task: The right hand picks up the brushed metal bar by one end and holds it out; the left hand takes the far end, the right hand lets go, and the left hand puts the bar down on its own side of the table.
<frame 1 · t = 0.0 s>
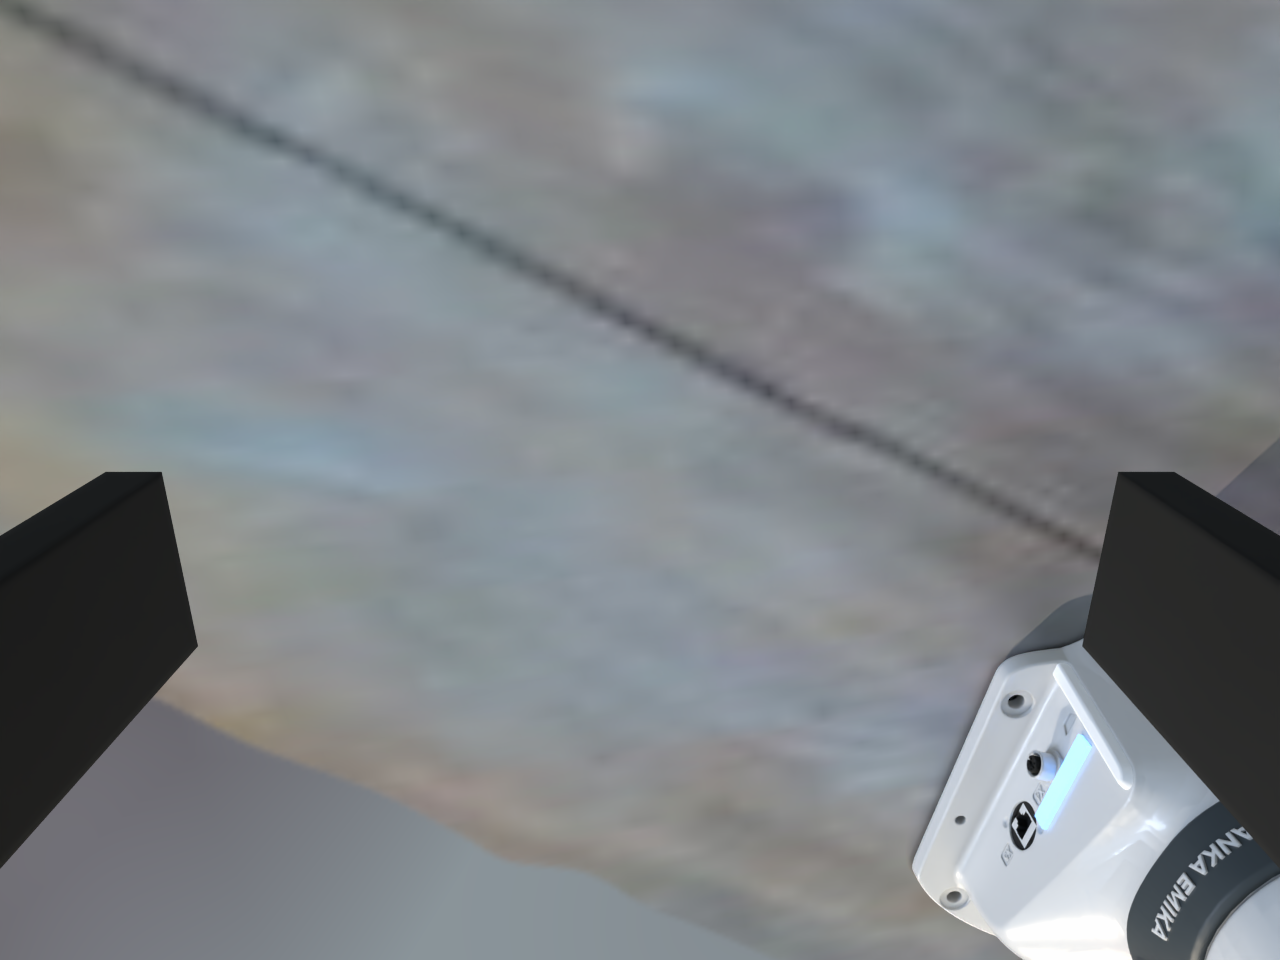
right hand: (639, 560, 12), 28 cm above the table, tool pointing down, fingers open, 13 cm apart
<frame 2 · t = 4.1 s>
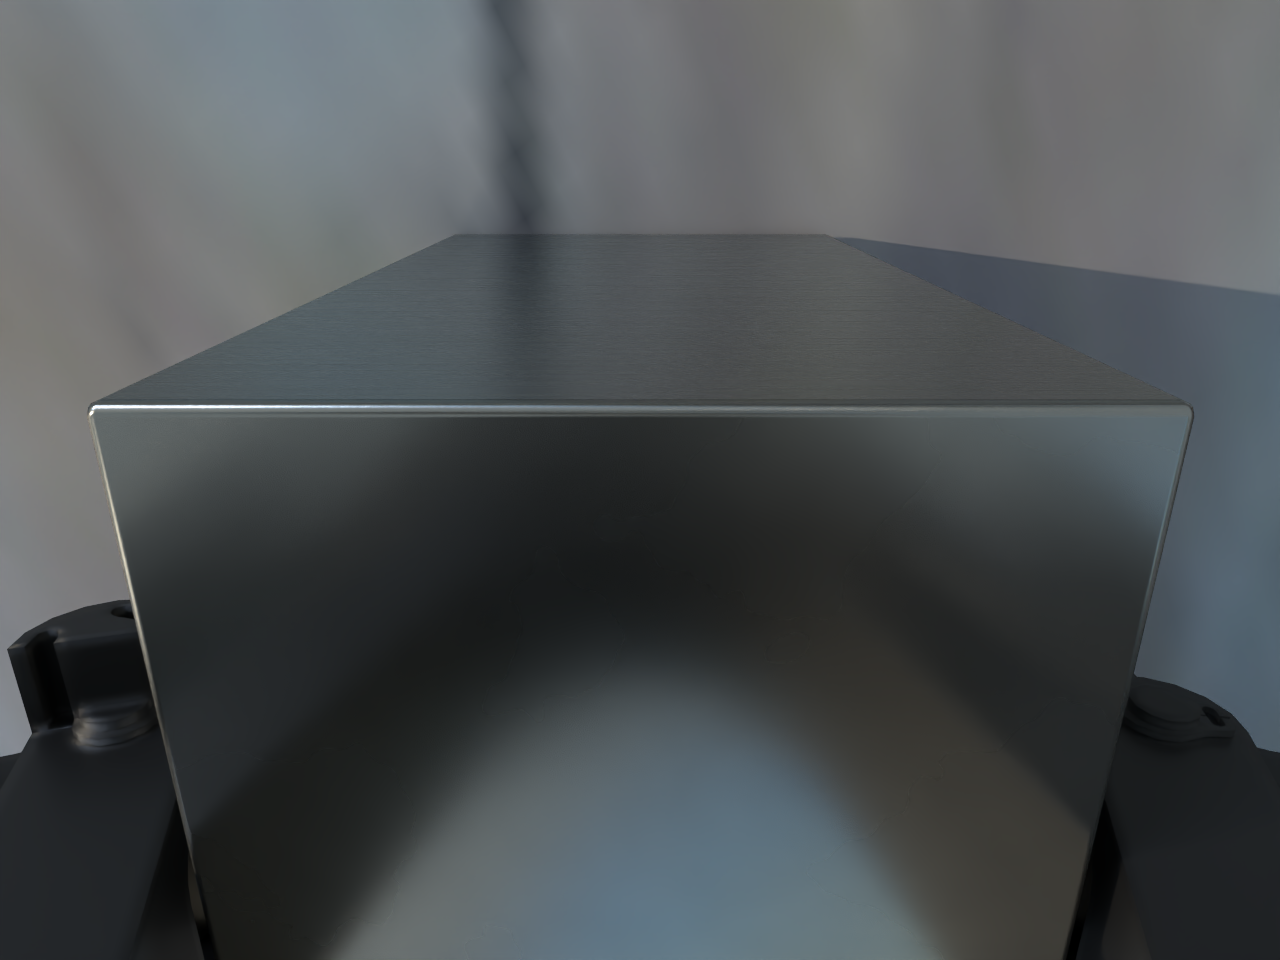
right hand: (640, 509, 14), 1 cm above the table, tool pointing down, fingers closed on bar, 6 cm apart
bar: (640, 886, 17), on the table, touching right hand
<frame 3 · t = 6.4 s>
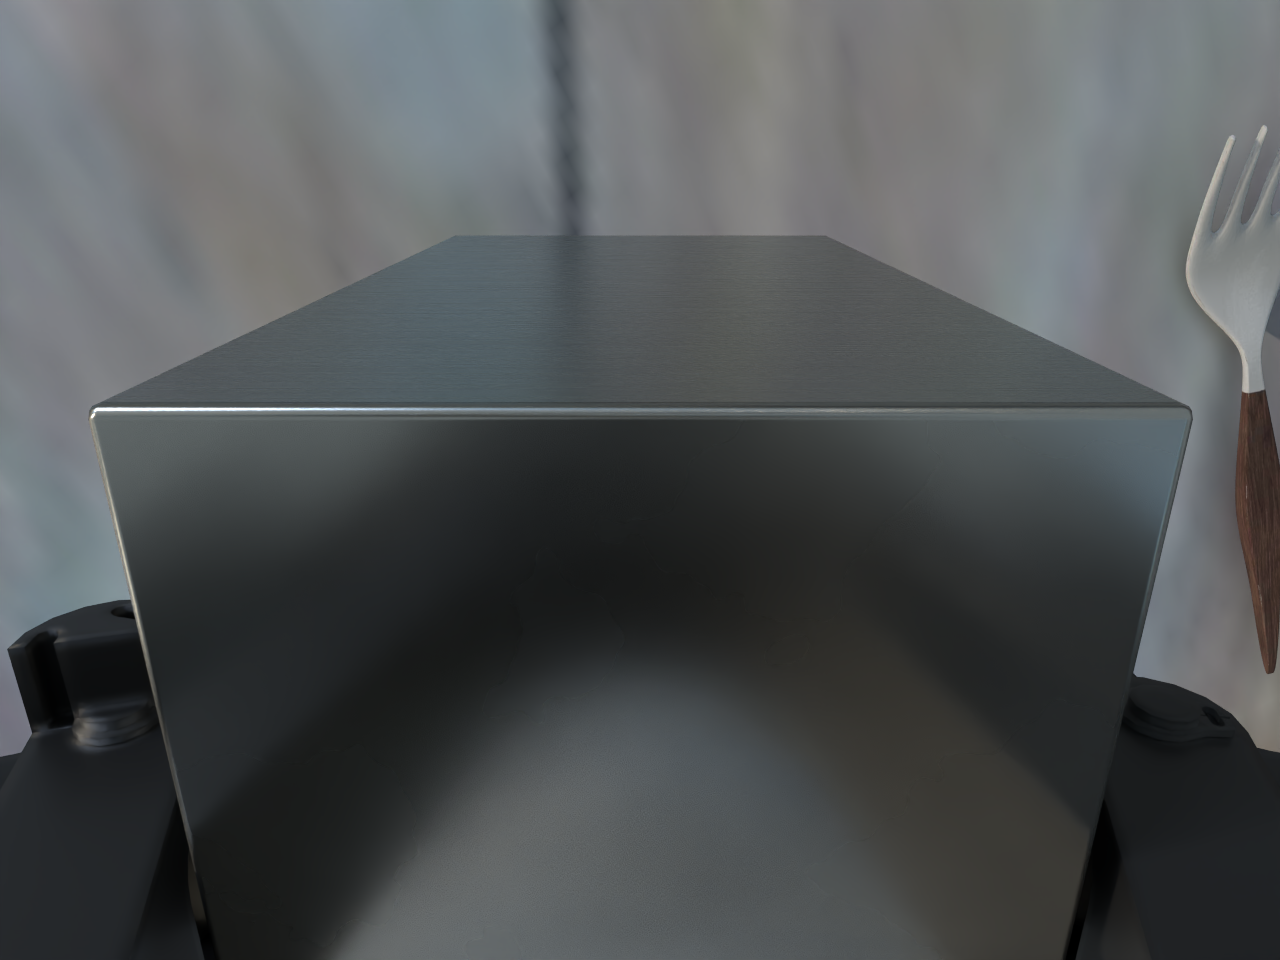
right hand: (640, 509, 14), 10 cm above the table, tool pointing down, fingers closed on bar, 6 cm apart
fork: (1239, 421, 24), on the table
bar: (640, 886, 17), point 10 cm above the table, touching right hand
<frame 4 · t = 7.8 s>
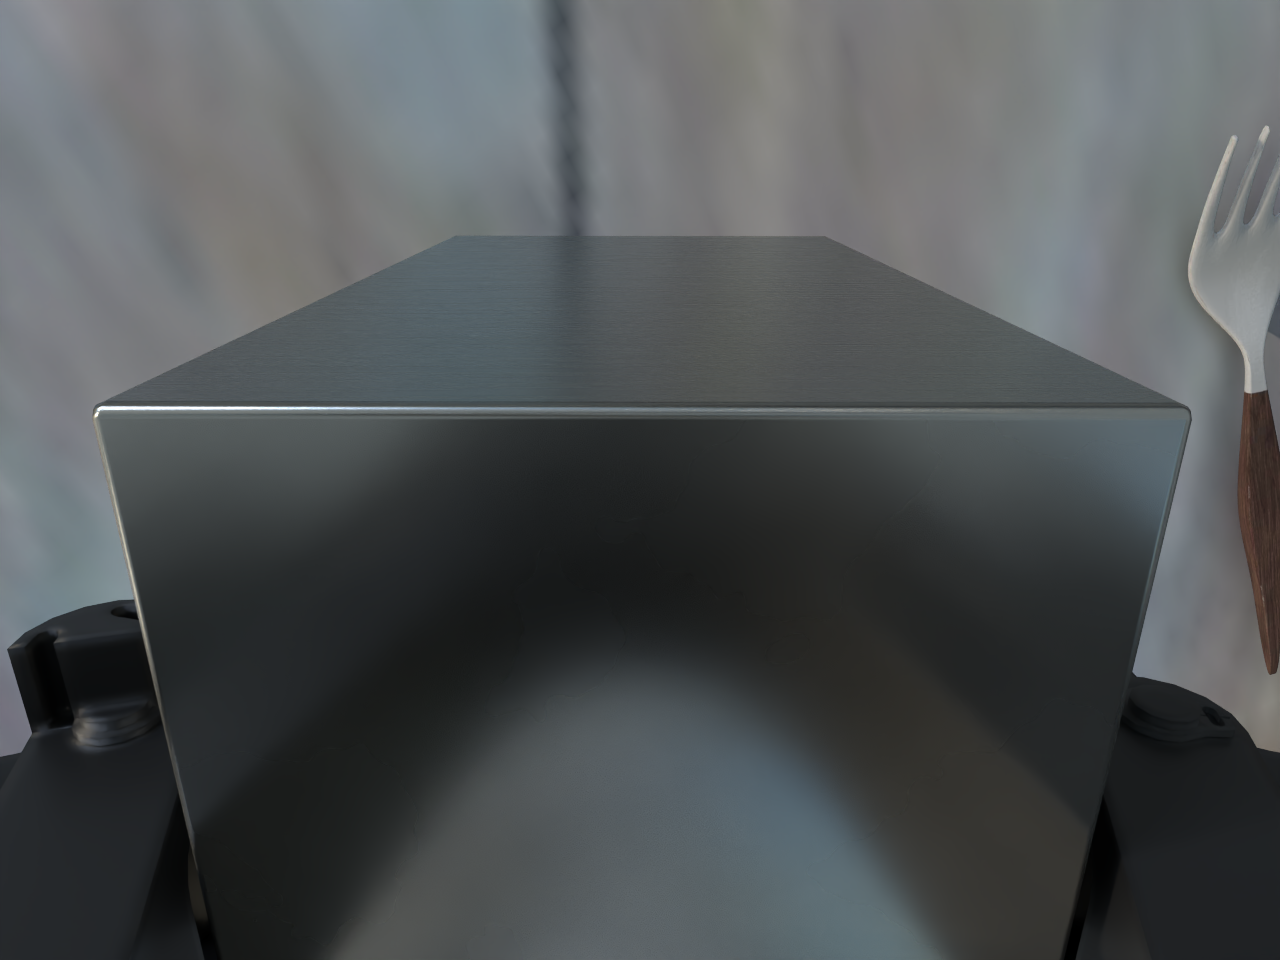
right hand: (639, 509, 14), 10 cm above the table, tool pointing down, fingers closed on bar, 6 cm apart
fork: (1241, 422, 24), on the table
bar: (639, 886, 17), point 10 cm above the table, touching right hand, left hand
when the right hand's fingers open (10 cm above the table, at t = 8.8 s): bar stays where it is, held by the left hand.
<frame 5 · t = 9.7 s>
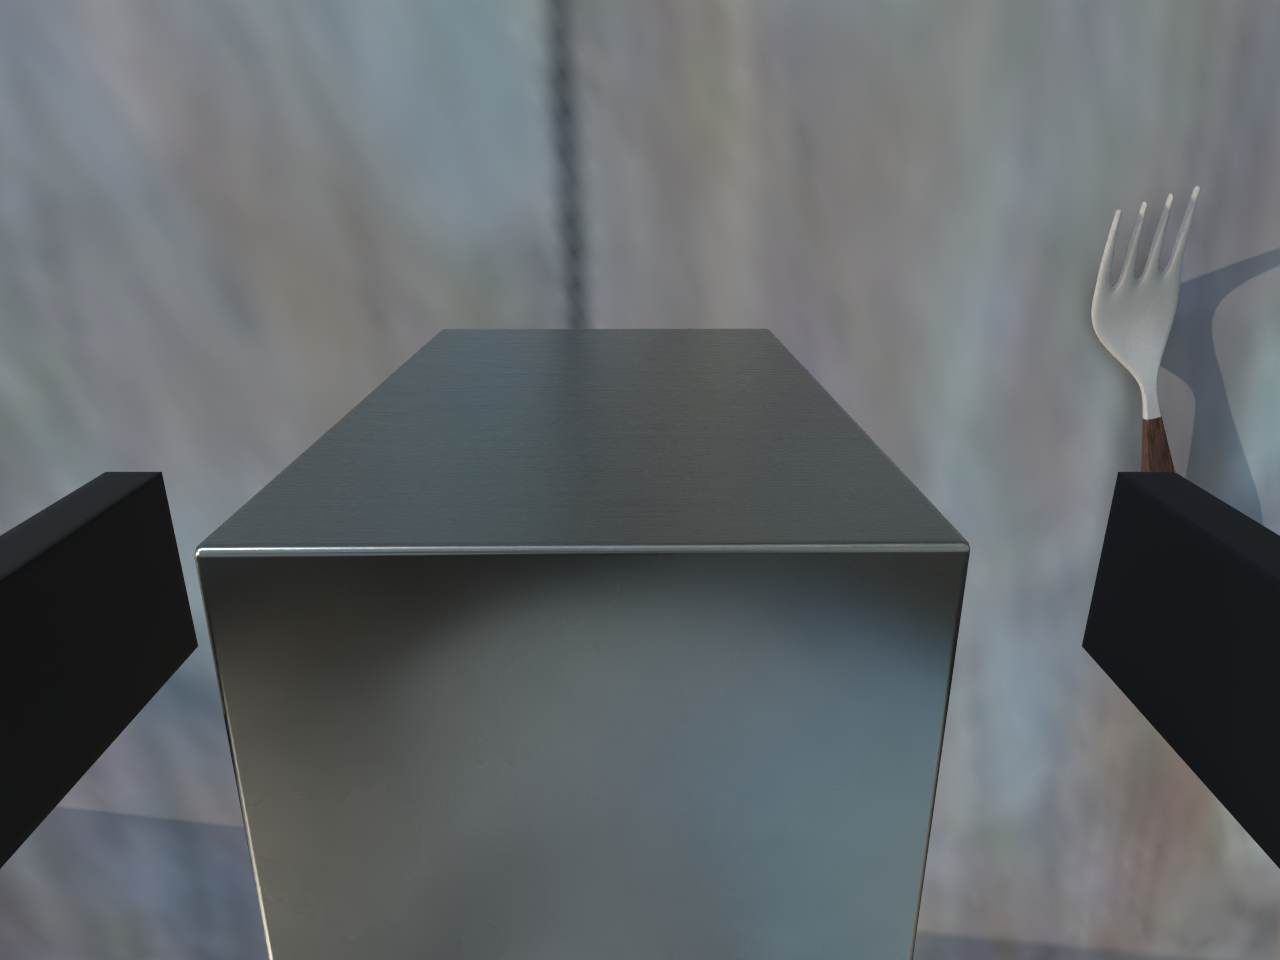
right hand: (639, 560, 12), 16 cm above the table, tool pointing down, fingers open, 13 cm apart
fork: (1143, 443, 28), on the table
bar: (612, 903, 19), point 12 cm above the table, touching left hand
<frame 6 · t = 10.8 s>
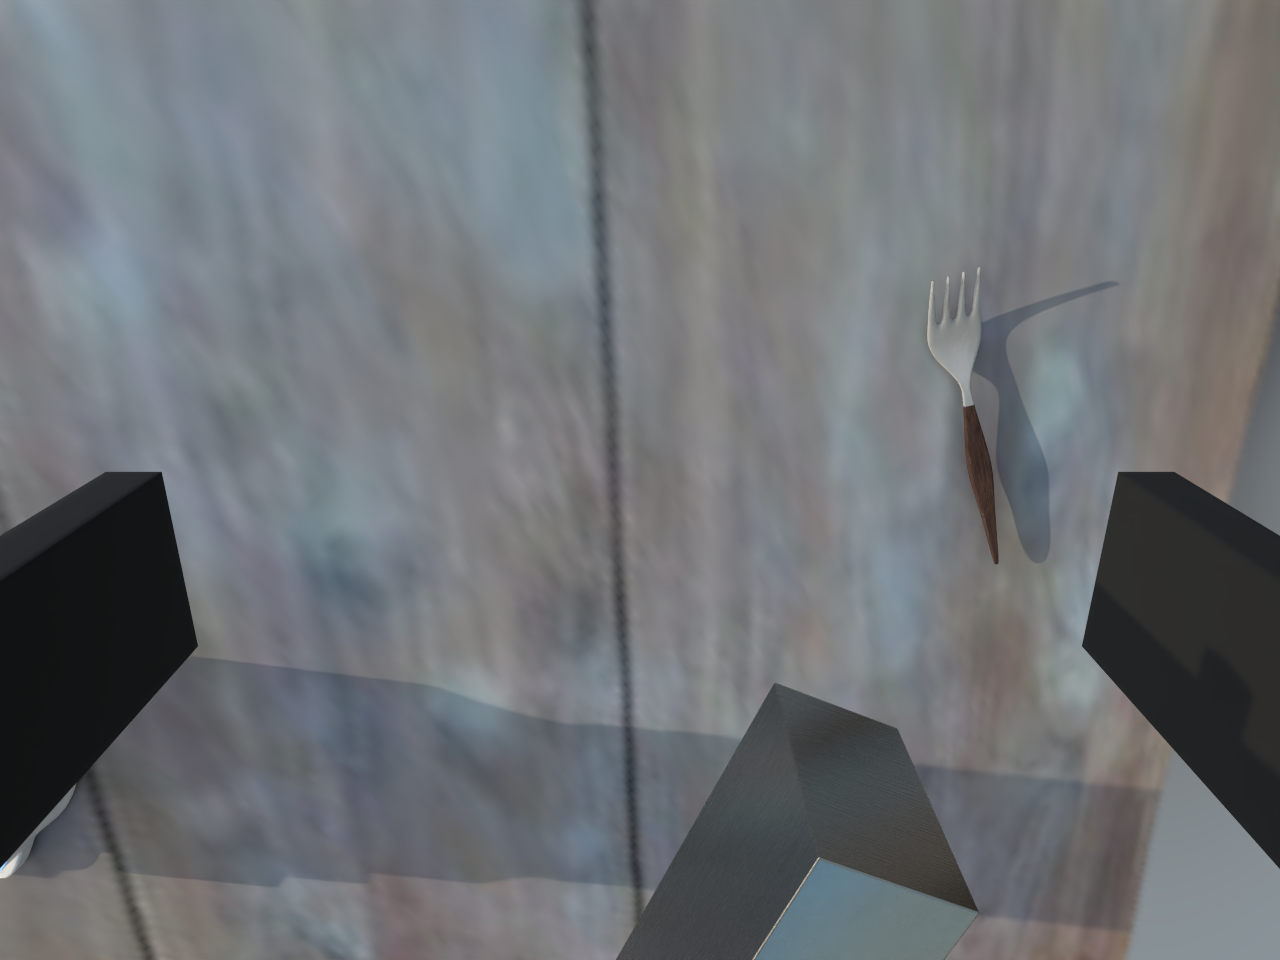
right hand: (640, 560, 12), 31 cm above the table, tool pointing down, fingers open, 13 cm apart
fork: (967, 421, 44), on the table
bar: (705, 920, 39), point 13 cm above the table, touching left hand
when the left hand's fingers open (6 cm above the table, at t = 13.9 s): bar stays where it is, on the table.
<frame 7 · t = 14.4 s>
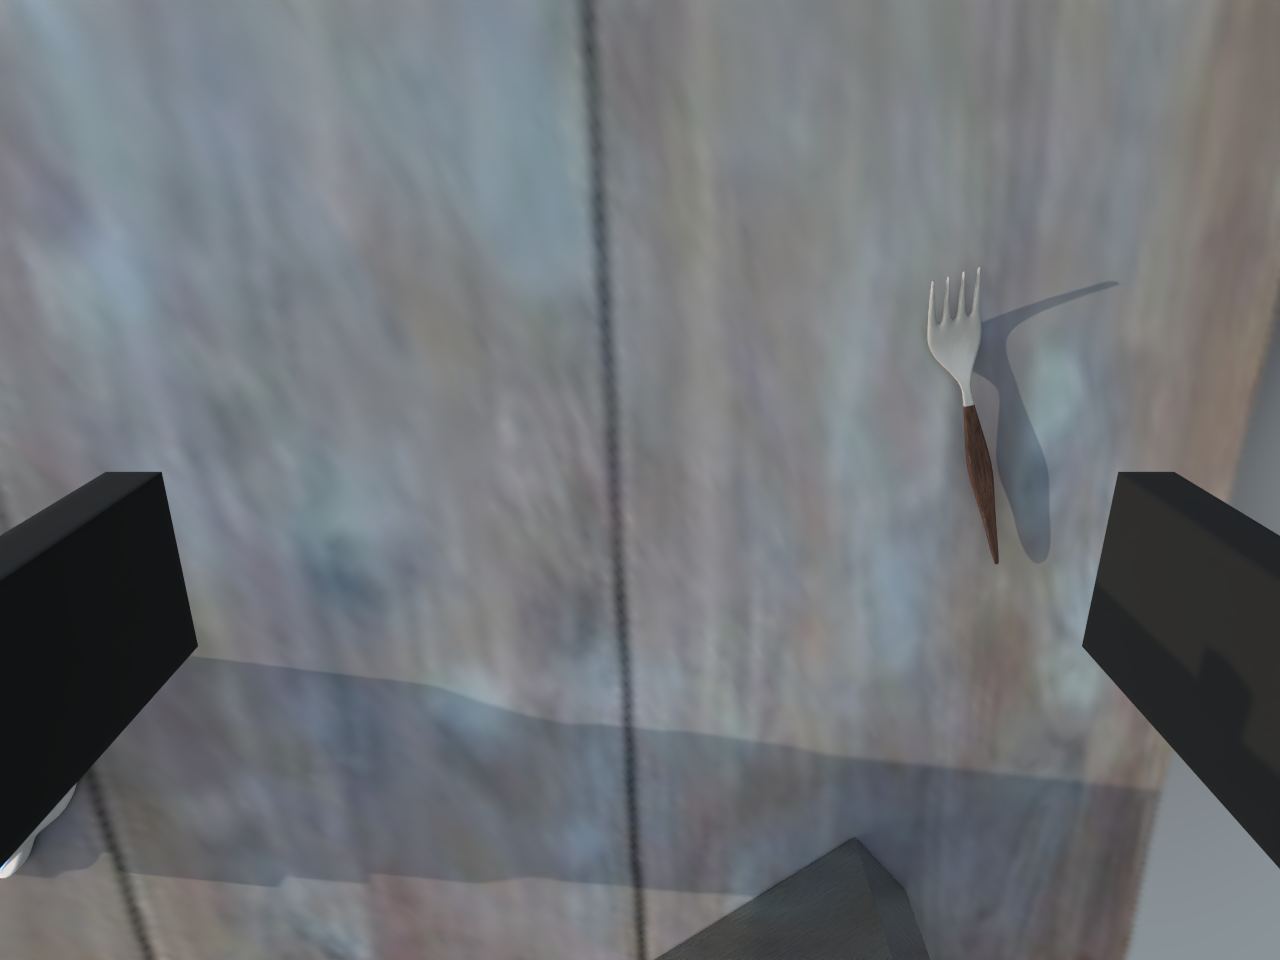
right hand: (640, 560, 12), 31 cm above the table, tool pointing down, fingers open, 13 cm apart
fork: (967, 421, 44), on the table
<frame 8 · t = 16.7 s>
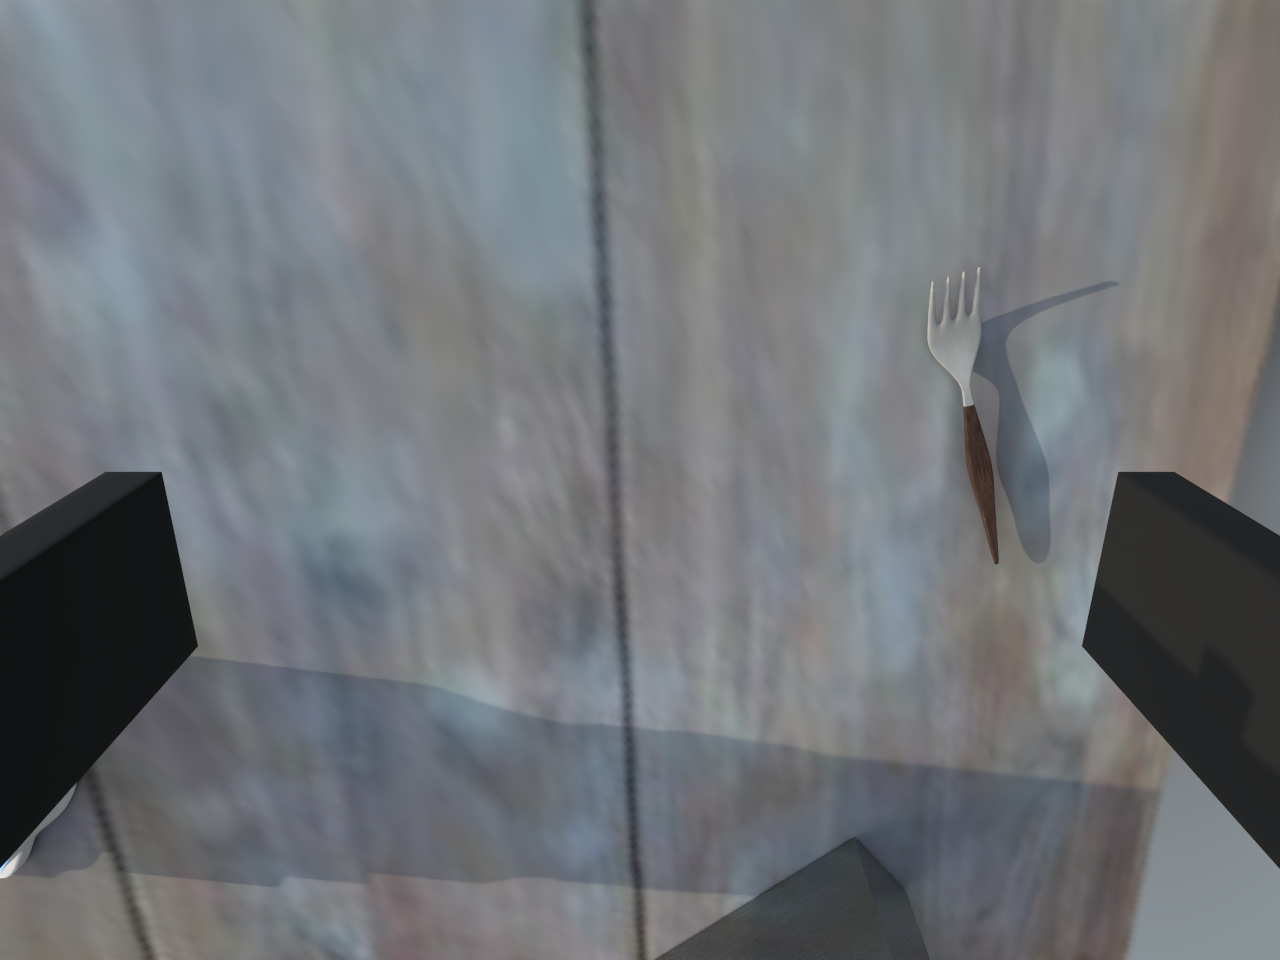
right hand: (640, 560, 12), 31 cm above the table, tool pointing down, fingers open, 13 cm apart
fork: (967, 421, 44), on the table
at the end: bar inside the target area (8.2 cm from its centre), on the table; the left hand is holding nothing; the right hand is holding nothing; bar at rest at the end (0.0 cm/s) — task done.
